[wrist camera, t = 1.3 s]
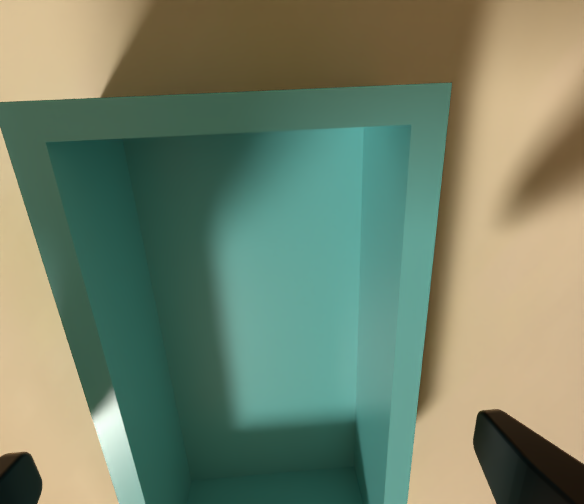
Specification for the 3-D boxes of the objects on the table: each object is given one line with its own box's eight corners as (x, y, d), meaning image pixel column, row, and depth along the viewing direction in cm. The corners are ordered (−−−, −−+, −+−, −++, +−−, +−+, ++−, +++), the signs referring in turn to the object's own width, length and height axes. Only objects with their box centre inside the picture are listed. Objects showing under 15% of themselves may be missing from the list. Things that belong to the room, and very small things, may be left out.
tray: (380, 91, 10) (452, 82, 6) (364, 457, 14) (398, 580, 11) (102, 103, 9) (-8, 103, 6) (181, 473, 14) (151, 605, 10)
